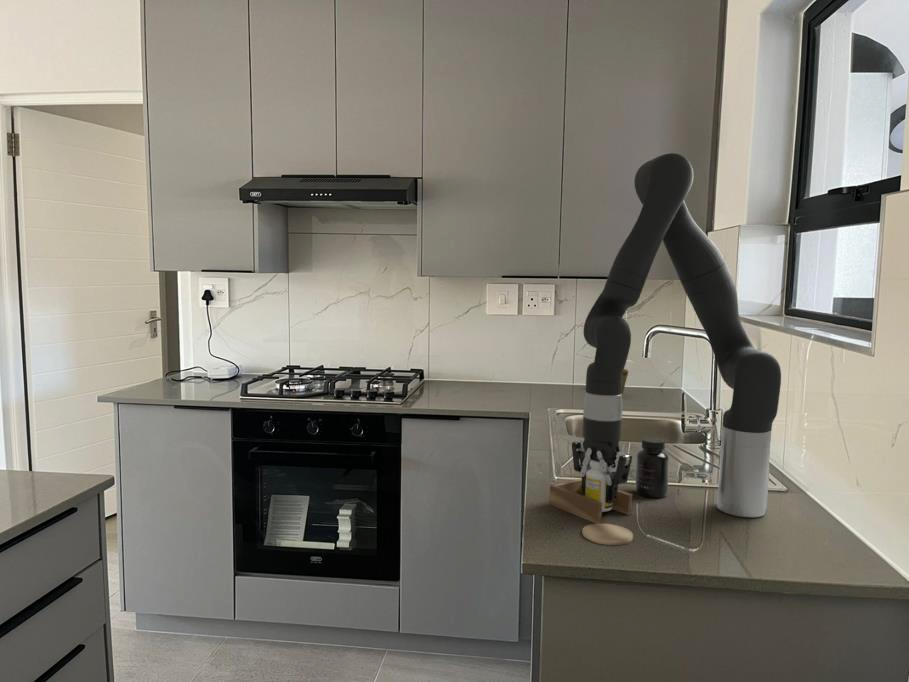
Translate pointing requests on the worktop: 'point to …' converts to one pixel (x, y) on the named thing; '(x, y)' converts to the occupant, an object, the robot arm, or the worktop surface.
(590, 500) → the frame
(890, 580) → the worktop surface
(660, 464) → the supplement bottle
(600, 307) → the robot arm
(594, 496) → the supplement bottle
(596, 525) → the coaster
